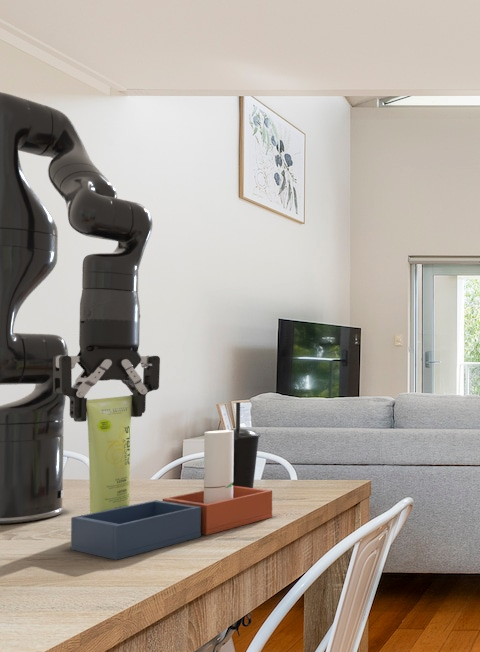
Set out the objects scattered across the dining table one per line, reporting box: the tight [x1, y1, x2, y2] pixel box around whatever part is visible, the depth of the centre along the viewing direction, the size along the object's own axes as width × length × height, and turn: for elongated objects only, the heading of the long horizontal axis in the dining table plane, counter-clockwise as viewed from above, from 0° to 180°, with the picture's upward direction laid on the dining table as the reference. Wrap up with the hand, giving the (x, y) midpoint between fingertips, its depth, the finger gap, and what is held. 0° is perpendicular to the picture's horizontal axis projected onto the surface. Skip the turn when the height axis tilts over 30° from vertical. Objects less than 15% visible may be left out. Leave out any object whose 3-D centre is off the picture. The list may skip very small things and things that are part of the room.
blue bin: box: [70, 499, 202, 560], centre depth 89 cm, size 12×12×5 cm
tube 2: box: [203, 429, 234, 504], centre depth 101 cm, size 4×4×15 cm
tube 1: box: [86, 395, 132, 514], centre depth 94 cm, size 6×5×20 cm
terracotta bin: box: [162, 486, 273, 536], centre depth 101 cm, size 12×12×5 cm
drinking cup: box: [230, 402, 261, 488], centre depth 113 cm, size 8×8×20 cm
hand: (108, 418), depth 94 cm, fingers closed on tube 1, 7 cm apart
